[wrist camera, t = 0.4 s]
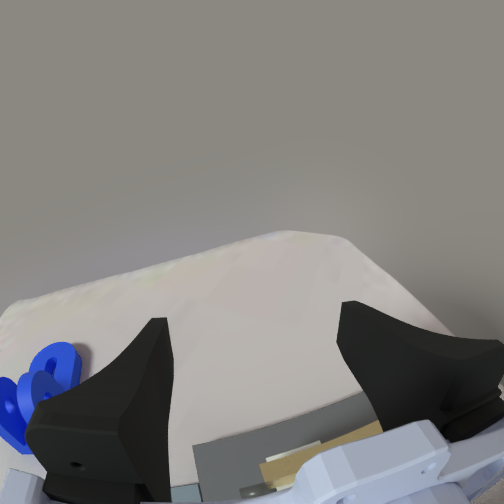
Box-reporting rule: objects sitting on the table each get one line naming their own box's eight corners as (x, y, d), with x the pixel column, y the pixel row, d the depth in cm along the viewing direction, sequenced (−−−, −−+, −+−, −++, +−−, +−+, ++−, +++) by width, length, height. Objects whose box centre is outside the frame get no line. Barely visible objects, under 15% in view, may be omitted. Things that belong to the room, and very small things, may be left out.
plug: (338, 505, 19) (346, 486, 16) (259, 530, 18) (246, 518, 15) (320, 464, 23) (321, 435, 20) (245, 487, 22) (230, 463, 19)
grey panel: (474, 479, 17) (485, 470, 15) (230, 584, 13) (223, 584, 12) (405, 381, 29) (409, 367, 27) (198, 453, 25) (190, 443, 24)
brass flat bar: (436, 435, 20) (460, 396, 17) (276, 507, 18) (266, 486, 15) (425, 420, 22) (445, 378, 19) (268, 486, 20) (257, 460, 17)
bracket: (74, 452, 25) (25, 407, 21) (22, 454, 24) (-26, 411, 19) (85, 347, 41) (57, 299, 36) (42, 356, 39) (13, 312, 35)
